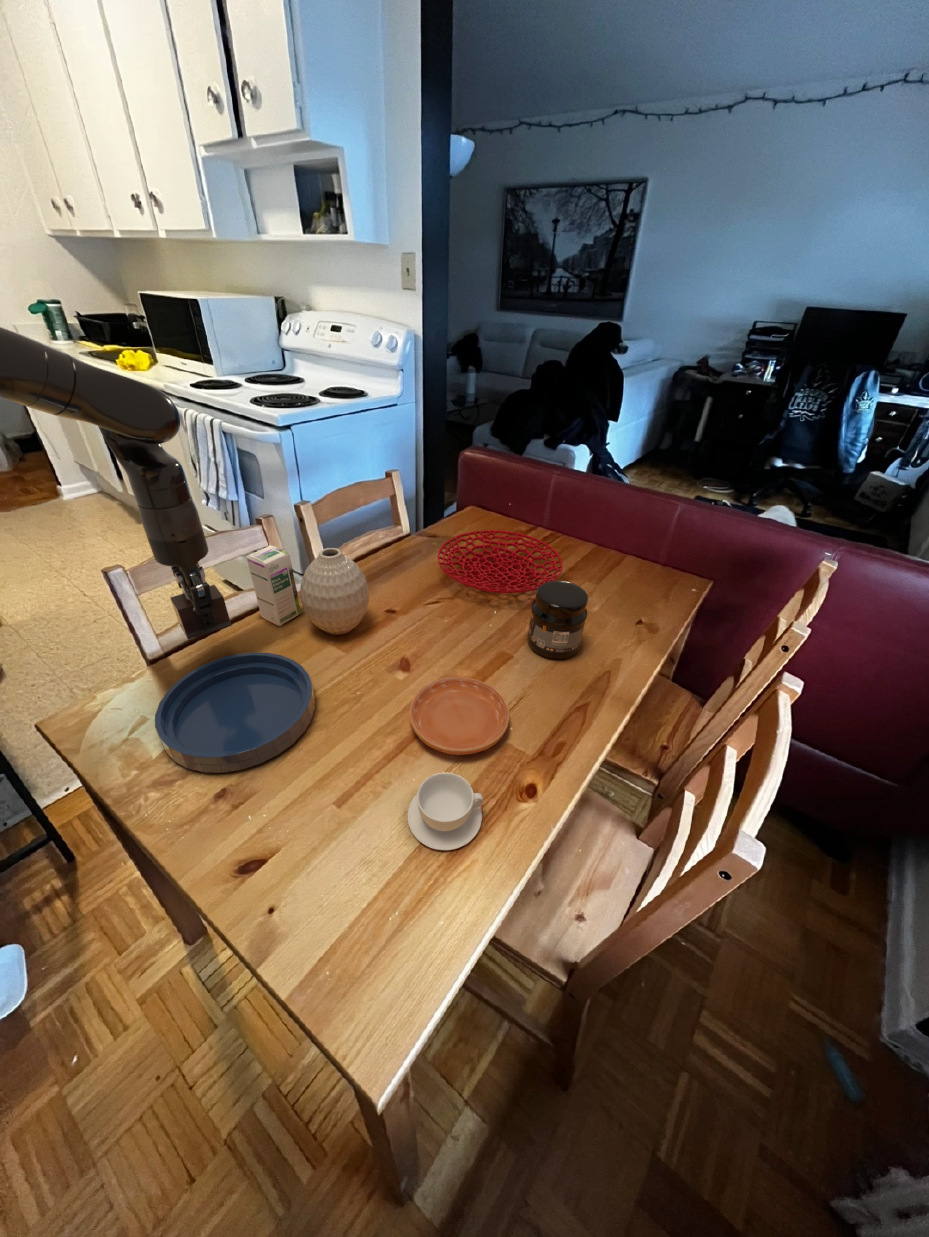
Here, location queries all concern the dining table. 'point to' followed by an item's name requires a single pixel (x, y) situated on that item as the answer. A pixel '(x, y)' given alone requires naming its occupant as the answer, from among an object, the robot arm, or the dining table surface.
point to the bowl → (499, 563)
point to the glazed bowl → (235, 712)
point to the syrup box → (274, 584)
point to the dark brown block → (189, 617)
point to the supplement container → (557, 619)
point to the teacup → (445, 812)
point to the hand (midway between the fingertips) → (203, 619)
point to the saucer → (459, 715)
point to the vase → (334, 592)
